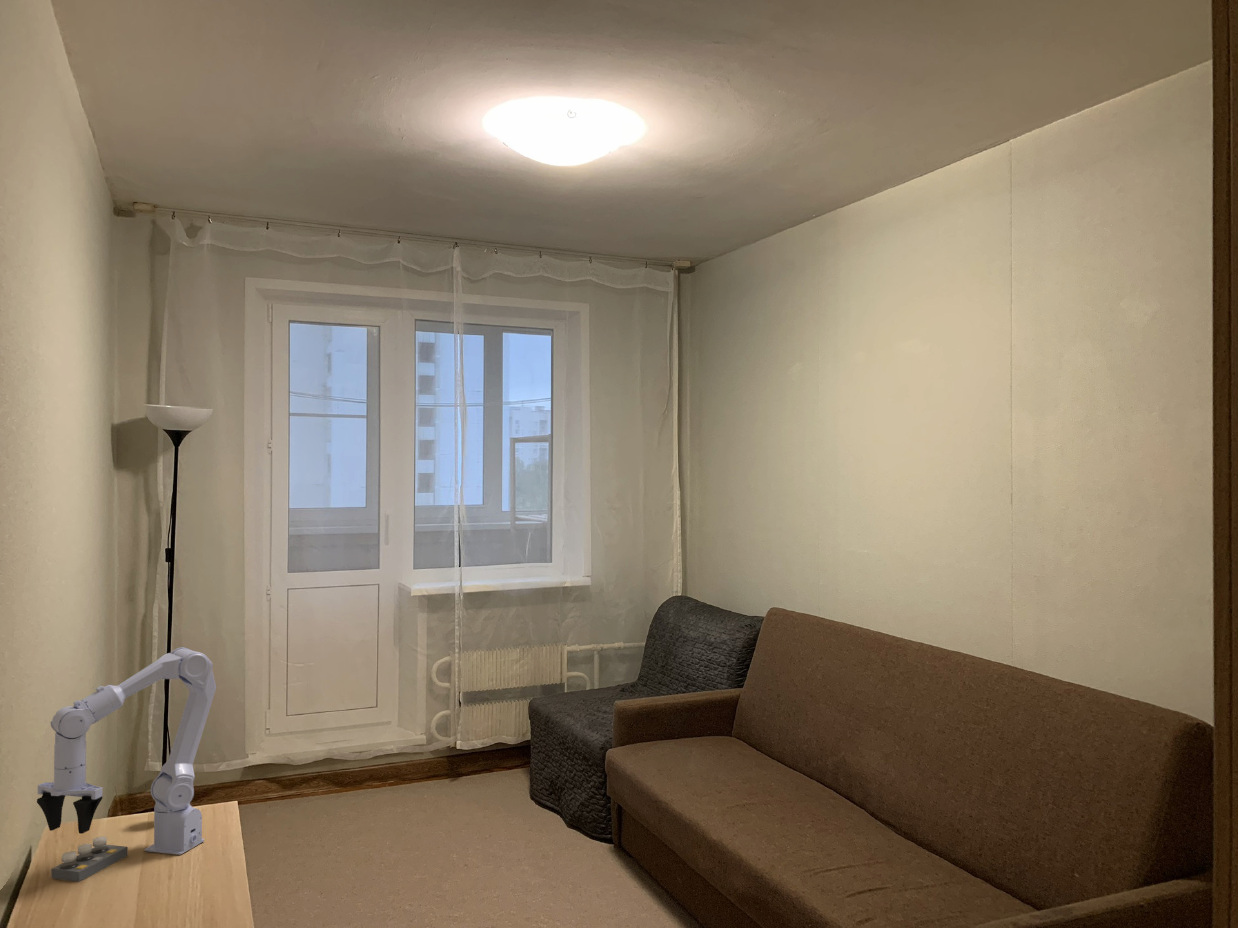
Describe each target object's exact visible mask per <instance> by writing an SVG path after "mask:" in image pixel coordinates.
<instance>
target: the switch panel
mask: <svg viewBox="0 0 1238 928" xmlns="http://www.w3.org/2000/svg"><path fill="white" fill-rule="evenodd" d="M128 848H129V847H128V846H124V845H115V844H107V843H106V844H105V845H103V846H100V847H92V851H91V852H90V853H87V854H78V855H77V859H76V860H74V861H71V862H62V863H61V864H58V865H56V866H55V867H52V868H51V869H50V871H51V872H50V874H51V875H50V879H51V878H53V879H52V880H61V881H68V882H76V883H77V882H78V883H80V882H81V881H83V880H86V879H87V878H89V877H91V876H93V875H95V874H96V873H98V872H100V871H101V870H104V869H106V868H108V867H110V866H111V865H113V864H115V863H117V862H118V861H121V860H123V859H124V858H126V857H128V855H129V854H128Z"/></svg>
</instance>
